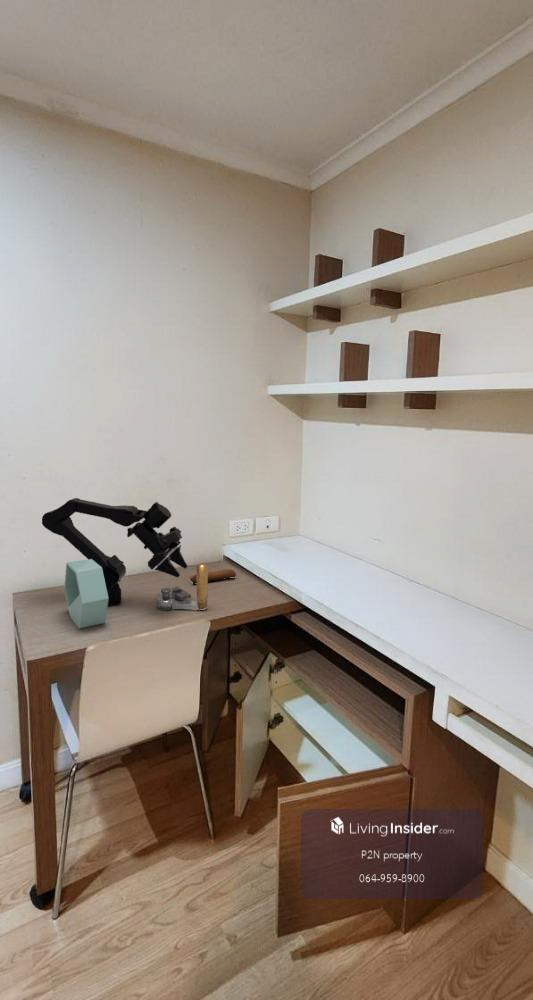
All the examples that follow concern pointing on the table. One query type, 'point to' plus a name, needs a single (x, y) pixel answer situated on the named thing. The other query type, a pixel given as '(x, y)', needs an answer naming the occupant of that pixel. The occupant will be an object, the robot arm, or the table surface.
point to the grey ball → (166, 593)
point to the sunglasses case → (216, 575)
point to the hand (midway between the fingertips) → (182, 571)
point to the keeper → (180, 594)
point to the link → (201, 593)
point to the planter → (86, 593)
